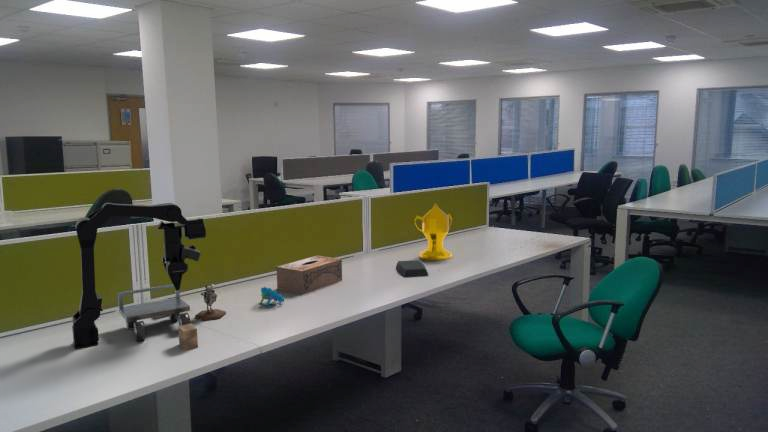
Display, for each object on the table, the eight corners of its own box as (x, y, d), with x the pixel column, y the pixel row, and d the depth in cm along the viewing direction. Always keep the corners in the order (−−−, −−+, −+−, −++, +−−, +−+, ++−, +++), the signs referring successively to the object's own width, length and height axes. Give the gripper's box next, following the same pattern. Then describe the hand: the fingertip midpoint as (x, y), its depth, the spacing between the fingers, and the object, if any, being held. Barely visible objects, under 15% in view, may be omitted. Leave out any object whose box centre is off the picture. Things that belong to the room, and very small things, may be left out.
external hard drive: (420, 266, 277) (420, 258, 277) (430, 276, 258) (430, 267, 258) (394, 268, 275) (394, 260, 274) (402, 278, 256) (402, 269, 256)
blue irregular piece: (290, 300, 217) (273, 285, 212) (283, 313, 214) (265, 299, 209) (273, 298, 225) (256, 284, 219) (265, 311, 222) (248, 297, 216)
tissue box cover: (317, 276, 260) (317, 255, 258) (342, 281, 252) (341, 259, 250) (277, 289, 239) (276, 266, 237) (302, 294, 231) (301, 271, 229)
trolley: (132, 344, 177) (129, 306, 175) (120, 327, 193) (117, 292, 191) (196, 331, 188) (194, 295, 187) (180, 316, 204) (178, 283, 203)
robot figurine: (190, 316, 204) (188, 284, 202) (211, 310, 212) (210, 278, 210) (208, 322, 198) (206, 289, 196) (230, 315, 205) (229, 283, 203)
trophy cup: (406, 256, 300) (405, 203, 295) (442, 250, 312) (443, 200, 308) (425, 262, 285) (425, 207, 281) (463, 256, 297) (463, 203, 293)
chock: (184, 350, 172) (183, 331, 171) (179, 344, 177) (178, 326, 176) (198, 347, 174) (196, 328, 174) (192, 341, 179) (191, 323, 178)
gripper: (202, 243, 183) (205, 290, 185) (194, 234, 199) (196, 277, 202) (166, 246, 178) (169, 294, 180) (160, 237, 195) (163, 281, 197)
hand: (176, 286), depth 190 cm, fingers open, 9 cm apart
